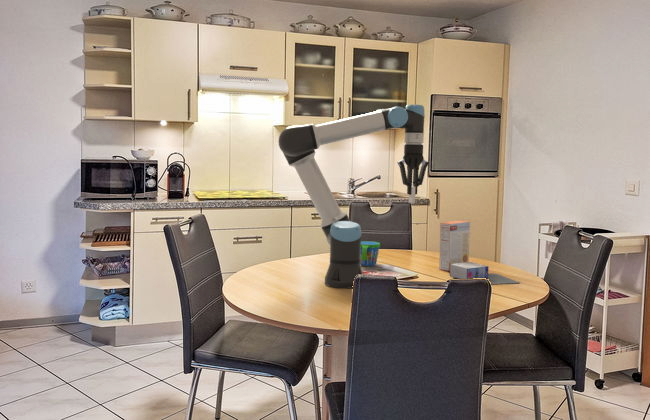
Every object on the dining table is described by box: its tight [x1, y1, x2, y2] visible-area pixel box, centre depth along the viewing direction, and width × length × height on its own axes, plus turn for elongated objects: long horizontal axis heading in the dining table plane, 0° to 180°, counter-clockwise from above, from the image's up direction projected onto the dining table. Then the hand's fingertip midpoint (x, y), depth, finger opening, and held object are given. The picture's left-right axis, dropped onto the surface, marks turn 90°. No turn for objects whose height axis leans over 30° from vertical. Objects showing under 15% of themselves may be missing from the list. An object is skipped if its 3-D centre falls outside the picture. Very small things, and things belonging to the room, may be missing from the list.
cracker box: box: [438, 220, 471, 272], centre depth 260 cm, size 14×6×21 cm, turn 130°
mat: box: [486, 272, 521, 285], centre depth 240 cm, size 20×18×1 cm
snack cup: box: [360, 240, 381, 267], centre depth 265 cm, size 16×10×10 cm
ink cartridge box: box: [449, 261, 490, 280], centre depth 241 cm, size 10×6×14 cm
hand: (411, 202), depth 239 cm, fingers closed
